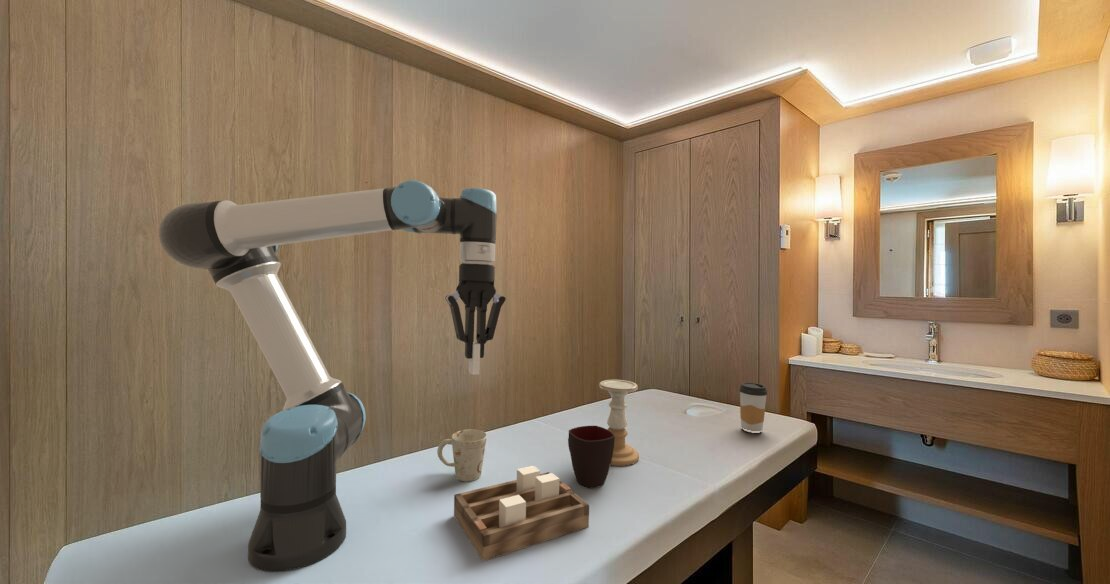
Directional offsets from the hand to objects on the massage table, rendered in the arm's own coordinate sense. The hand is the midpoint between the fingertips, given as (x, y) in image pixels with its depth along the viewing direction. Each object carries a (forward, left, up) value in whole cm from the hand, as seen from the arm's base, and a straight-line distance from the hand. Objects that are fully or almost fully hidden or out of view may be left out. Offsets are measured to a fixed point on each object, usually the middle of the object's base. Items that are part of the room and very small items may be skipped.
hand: (473, 373), depth 94 cm
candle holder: (+43, +4, -28) cm, 51 cm away
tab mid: (+12, -12, -25) cm, 30 cm away
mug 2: (+28, -3, -28) cm, 39 cm away
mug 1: (+2, +13, -28) cm, 31 cm away
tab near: (+1, -17, -25) cm, 31 cm away
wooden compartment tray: (+6, -12, -28) cm, 31 cm away
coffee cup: (+96, 0, -28) cm, 100 cm away
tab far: (+10, -7, -25) cm, 28 cm away
